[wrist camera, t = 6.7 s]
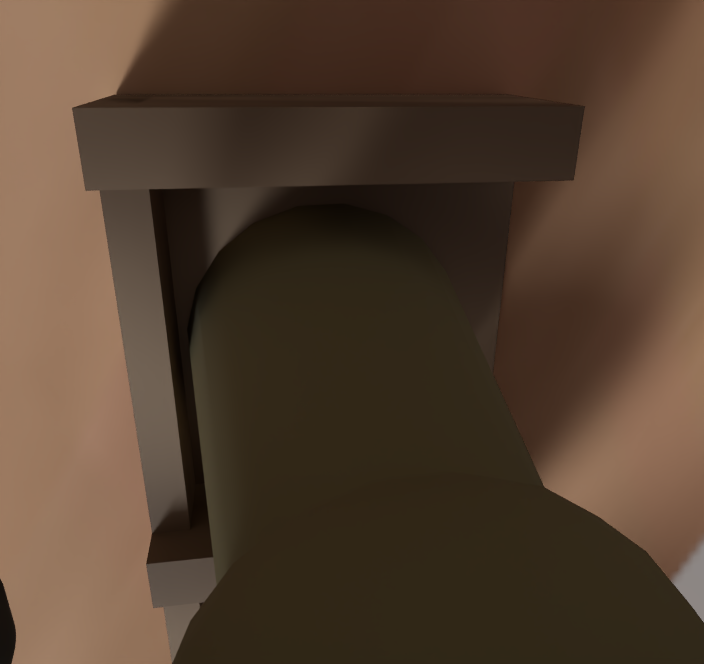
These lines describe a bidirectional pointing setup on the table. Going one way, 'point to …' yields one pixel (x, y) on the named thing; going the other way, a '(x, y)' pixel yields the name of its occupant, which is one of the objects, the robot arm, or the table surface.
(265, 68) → the table surface
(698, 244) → the table surface
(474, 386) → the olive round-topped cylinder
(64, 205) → the table surface
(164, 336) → the walnut slot rack
